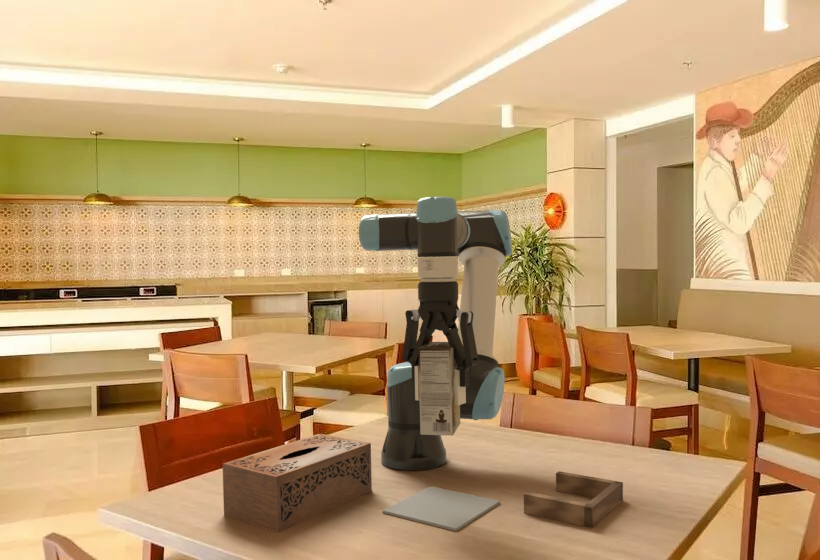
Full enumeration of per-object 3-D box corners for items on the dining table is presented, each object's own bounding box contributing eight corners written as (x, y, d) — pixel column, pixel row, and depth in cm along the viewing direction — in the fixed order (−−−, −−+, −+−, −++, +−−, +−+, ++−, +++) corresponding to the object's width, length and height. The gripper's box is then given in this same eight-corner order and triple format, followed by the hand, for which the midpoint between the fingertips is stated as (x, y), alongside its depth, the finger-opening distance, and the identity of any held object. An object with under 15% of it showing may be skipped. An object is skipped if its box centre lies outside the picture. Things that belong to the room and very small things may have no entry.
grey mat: (382, 512, 127) (382, 510, 127) (430, 488, 140) (430, 486, 140) (456, 531, 118) (456, 528, 118) (500, 503, 131) (500, 500, 131)
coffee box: (428, 423, 134) (426, 341, 133) (461, 424, 132) (459, 341, 132) (419, 435, 125) (417, 347, 124) (454, 436, 123) (452, 347, 123)
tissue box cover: (277, 533, 119) (276, 476, 119) (223, 516, 128) (222, 463, 127) (371, 491, 140) (370, 443, 140) (320, 479, 148) (319, 433, 148)
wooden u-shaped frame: (524, 512, 126) (523, 494, 126) (559, 488, 139) (558, 471, 139) (592, 527, 118) (592, 507, 118) (622, 500, 131) (622, 482, 131)
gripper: (381, 280, 131) (383, 399, 131) (476, 281, 119) (478, 411, 119) (404, 279, 137) (406, 392, 138) (497, 279, 125) (499, 403, 125)
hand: (440, 401), depth 128 cm, fingers closed on coffee box, 8 cm apart
